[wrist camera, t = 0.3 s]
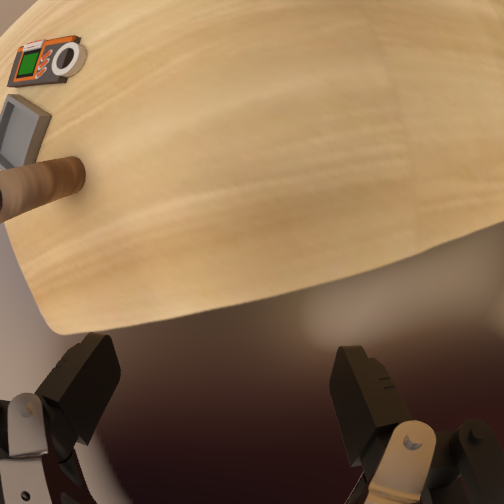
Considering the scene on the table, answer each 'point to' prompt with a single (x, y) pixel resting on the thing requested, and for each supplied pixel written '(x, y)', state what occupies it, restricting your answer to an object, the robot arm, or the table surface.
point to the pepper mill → (38, 185)
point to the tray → (21, 132)
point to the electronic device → (47, 62)
